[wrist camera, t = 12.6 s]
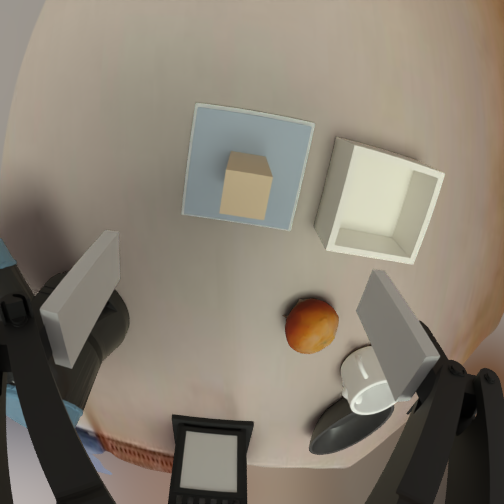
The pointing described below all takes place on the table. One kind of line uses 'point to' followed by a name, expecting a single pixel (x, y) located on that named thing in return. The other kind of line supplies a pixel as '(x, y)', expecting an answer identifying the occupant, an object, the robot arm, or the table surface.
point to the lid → (245, 167)
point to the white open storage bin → (376, 202)
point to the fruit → (311, 326)
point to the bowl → (344, 428)
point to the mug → (365, 383)
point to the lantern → (209, 461)
